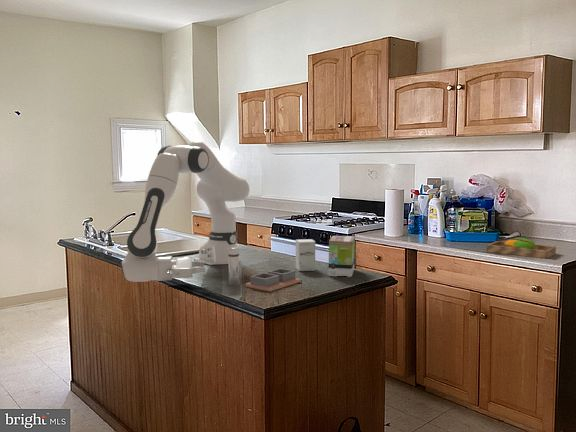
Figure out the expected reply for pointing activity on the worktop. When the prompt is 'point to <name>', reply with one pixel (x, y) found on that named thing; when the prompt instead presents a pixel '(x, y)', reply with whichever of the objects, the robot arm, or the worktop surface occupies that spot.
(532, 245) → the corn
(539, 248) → the wooden tray
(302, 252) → the supplement box
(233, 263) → the grey capped bottle
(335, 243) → the tea box
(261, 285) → the grey double cup holder
